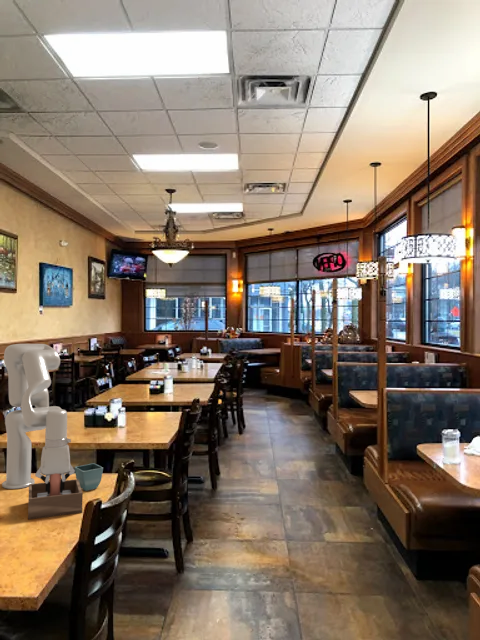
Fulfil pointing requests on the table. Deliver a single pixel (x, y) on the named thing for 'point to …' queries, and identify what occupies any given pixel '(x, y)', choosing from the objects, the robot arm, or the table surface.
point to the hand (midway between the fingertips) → (54, 491)
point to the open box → (54, 500)
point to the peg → (55, 484)
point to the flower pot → (89, 476)
